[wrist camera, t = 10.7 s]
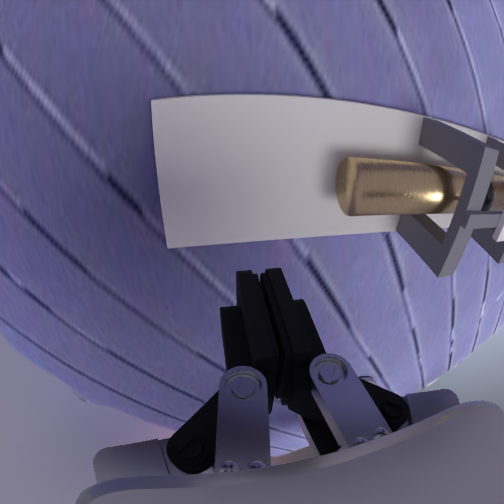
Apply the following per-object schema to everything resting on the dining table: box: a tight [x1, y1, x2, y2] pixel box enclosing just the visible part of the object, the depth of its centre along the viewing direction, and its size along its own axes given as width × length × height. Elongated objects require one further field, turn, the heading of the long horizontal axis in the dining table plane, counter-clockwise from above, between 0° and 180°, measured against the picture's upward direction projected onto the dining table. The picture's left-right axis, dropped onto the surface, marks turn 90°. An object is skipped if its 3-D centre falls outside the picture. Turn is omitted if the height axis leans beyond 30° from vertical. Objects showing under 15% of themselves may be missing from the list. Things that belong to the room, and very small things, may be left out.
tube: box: [335, 157, 504, 216], centre depth 21 cm, size 24×4×4 cm, turn 88°
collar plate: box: [151, 93, 504, 277], centre depth 19 cm, size 11×40×9 cm, turn 88°
